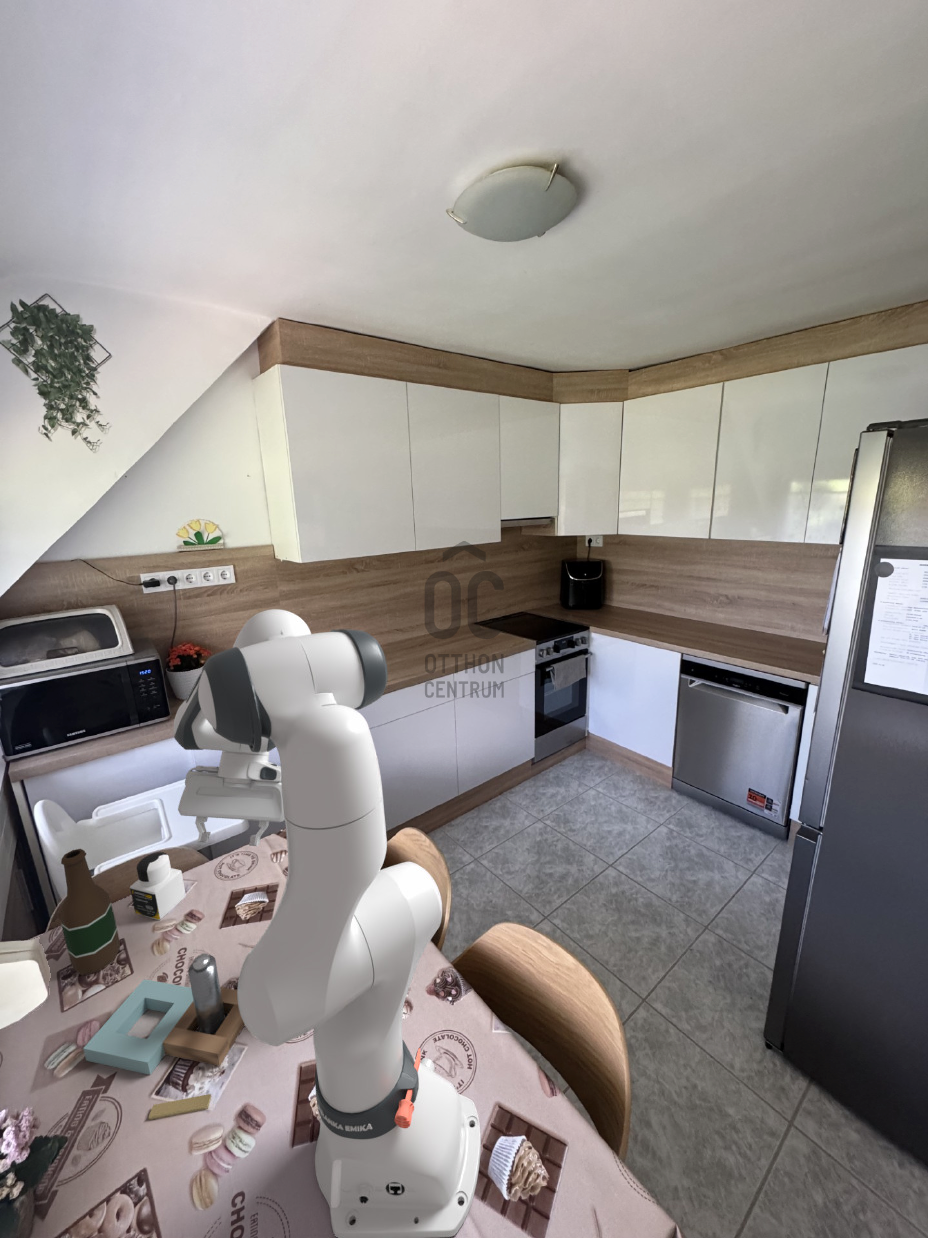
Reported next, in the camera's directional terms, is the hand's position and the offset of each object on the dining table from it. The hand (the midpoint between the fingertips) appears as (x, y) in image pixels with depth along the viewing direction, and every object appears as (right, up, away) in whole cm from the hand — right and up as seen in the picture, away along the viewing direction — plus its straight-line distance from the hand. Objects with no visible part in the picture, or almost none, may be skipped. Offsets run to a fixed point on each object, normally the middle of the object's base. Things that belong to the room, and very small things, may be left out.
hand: (228, 844), depth 94 cm
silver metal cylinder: (+2, -27, -11) cm, 29 cm away
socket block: (+2, -27, -11) cm, 29 cm away
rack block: (-9, -27, -10) cm, 30 cm away
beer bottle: (-27, -24, +3) cm, 37 cm away
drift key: (+3, -30, -22) cm, 37 cm away
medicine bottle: (-23, -21, +16) cm, 35 cm away
